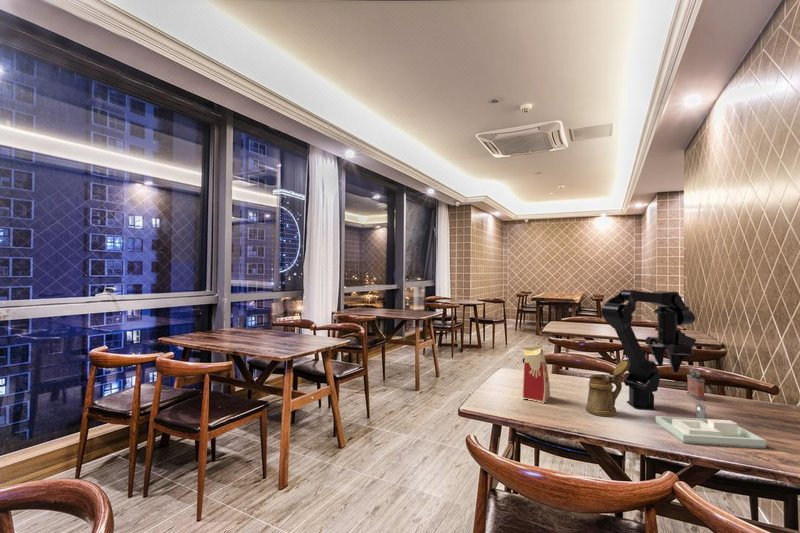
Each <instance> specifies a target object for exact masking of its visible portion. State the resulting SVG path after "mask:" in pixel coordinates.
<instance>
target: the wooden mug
mask: <svg viewBox="0 0 800 533" xmlns="http://www.w3.org/2000/svg"><path fill="white" fill-rule="evenodd" d="M629 365H630V361H629V359H628V358H627V359H623V360H621V361H620V362H618V363H617V364H616V366H615V368H614V369H613V374H612V375H609V376H608V377H605V376H600V375H596V376H595V375H592V376H590V379H589V382H588V385H587V386H589V387H588V393H587V394H588V395H587V401H586V404H585V411H586V412H588V413H589V414H592V415H595V416H597V417H604V418H605V417H606V418H609V417H610V418H611V417H612V418H613V417H614V416H616V415H617V408H616V405H615V404H616V400H617V398H618V397H619V394H620V393H621V391H622V387H623V383H622V380H621V378H620V377H622V375H624V374H625V373H626V372H627V371H628V370H629ZM614 385H615V389H614ZM613 389H614V391H613Z"/></svg>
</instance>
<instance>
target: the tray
mask: <svg viewBox="0 0 800 533" xmlns="http://www.w3.org/2000/svg"><path fill="white" fill-rule="evenodd" d="M672 419H684V420H701V421H703V422H705V423H706V424H708V419H709V418H706V419H699V418H696V417H695V418H694V417H680V416H679V417H678V416H677V417H676V416H665V415H664V416H660V415H659V416H658V415H655V425H657V426H659V427H660V428H662V429H663V430H664V431H666V432H667V433H669V434H670V435H671V436H673V437H674V438H676V439H677V440H679V442H681V443H682V444H691V445H702V444H703V445H705V446H718V445H720V446H721V447H733V446H734V447H736V448H750V449H763V450H765V449H767V440H766V439H765V438H762V437H760V436H758V435H756V434H755V433H753V432H751V431H749V430H747V429H745V428H743V427H741V426H739V425H738V424H737V427H738V436H723V435H721V436H708V435H692V434H684V433H682V432H681V431H680V430H678V429H677V428H675V427H674V426H672ZM714 419H715V418H714ZM715 420H717V419H715ZM720 446H719V447H720Z"/></svg>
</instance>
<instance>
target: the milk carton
mask: <svg viewBox="0 0 800 533" xmlns="http://www.w3.org/2000/svg"><path fill="white" fill-rule="evenodd" d="M521 348H522V349H523V353H524V360H523V361H524V363H523V366H524V367H523V383H522V384H523V386H522V394H521V396H522V395H523V398H526V399H532V400H536V401H540V402H543V403H544V402H545V401H546V400H547V399H548V398H549V397H550V398H551V389H550V388H551V387H550V378H549V371H548V365H547V361H546V358H545V354H544V350H543V344H539V345H533V346H522V347H521ZM523 398H522V399H523ZM550 398H549V399H550ZM549 399H548V400H549ZM548 400H547V401H548ZM547 401H546V402H547ZM546 402H545V403H546ZM543 403H542V404H543ZM545 403H544V404H545Z"/></svg>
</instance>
